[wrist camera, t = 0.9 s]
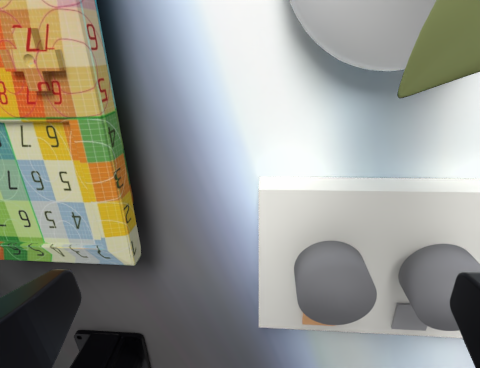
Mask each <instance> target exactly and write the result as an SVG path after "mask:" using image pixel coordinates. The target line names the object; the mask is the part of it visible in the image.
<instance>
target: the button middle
mask: <svg viewBox="0 0 480 368" xmlns="http://www.w3.org/2000/svg"><path fill="white" fill-rule="evenodd" d="M460 272H480V264H479V262H478V261H477V260H476V259H475V258H474V257H473V256H472V255H471V254H470V253H469V252H468V251H467V250H465V249H464V248H462V247H460V246H457V245H453V244H434V245H429V246H426V247H423V248H421V249H419V250H417V251H415V252H414V253H412V254H411V255H410V256H409V257H407V259H406V260H405V261H404V262H403V264H402V265H401V267H400V270H399V274H398V279H399V283H400V285H401V287H402V289H403V291H404V293H405V295H406V297H407V298H408V300H409V302H410V304H411V306H412V308H413V309H414V311H415V313H416V315H417V317H418V318H419V319H420V321H421V322H423V323H424V324H425V325H427V326H429V327H431V328H434V329H437V330H442V331H459V328H458V326H457V323H456V321H455V319H454V317H453V314H452V312H451V309H450V297H451V293H452V290H453V287H454V283H455V280H456V277H457V275H458V274H459V273H460Z"/></svg>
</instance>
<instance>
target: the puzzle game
mask: <svg viewBox="0 0 480 368" xmlns="http://www.w3.org/2000/svg"><path fill="white" fill-rule="evenodd" d="M140 257H141V244H140V240H139V235H138V230H137V224H136V219H135V213H134V208H133V195H132V190H131V185H130V179H129V174H128V169H127V163H126V158H125V152H124V147H123V142H122V136H121V131H120V126H119V120H118V115H117V110H116V104H115V99H114V93H113V88H112V83H111V77H110V72H109V67H108V61H107V56H106V51H105V45H104V40H103V34H102V29H101V24H100V18H99V13H98V8H97V2H96V0H0V260H21V261H44V262H66V263H89V264H111V265H134V266H135V265H136V264H137V262H138V260H139V259H140Z"/></svg>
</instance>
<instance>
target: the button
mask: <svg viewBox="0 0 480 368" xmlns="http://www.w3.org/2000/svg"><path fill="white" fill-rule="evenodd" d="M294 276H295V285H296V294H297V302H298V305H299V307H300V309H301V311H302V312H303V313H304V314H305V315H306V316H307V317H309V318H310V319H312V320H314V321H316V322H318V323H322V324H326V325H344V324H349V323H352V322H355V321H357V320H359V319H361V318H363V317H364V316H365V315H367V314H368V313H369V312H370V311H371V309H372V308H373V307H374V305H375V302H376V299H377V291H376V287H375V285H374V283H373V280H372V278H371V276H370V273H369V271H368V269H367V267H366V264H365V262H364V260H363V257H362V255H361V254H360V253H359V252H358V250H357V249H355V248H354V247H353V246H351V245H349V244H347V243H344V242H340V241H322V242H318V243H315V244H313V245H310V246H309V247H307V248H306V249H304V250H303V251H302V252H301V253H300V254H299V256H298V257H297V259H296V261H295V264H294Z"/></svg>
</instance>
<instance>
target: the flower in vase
mask: <svg viewBox="0 0 480 368" xmlns="http://www.w3.org/2000/svg"><path fill="white" fill-rule="evenodd" d="M290 3H291V6H292V8H293V10H294V12H295V14H296V16H297V18H298V20H299V21H300V23H301V25H302V26H303V28H304V29H305V31H306V32H307V33H308V34H309V36H310V37H311V38H312V39H313V40H314V41H315V43H317V44H318V45H319V46H320V47H321V48H322V49H323V50H325V51H326V52H327V53H329V54H330V55H332V56H333V57H335V58H336V59H338V60H340V61H342V62H345V63H347V64H349V65H352V66H355V67H359V68H362V69H367V70H375V71H398V70H405V71H404V74H403V77H402V80H401V83H400V86H399V90H398V97H399V98H403V97H407V96H410V95H413V94H416V93H419V92H422V91H425V90H428V89H430V88H433V87H436V86H439V85H442V84H445V83H448V82H451V81H453V80H456V79H459V78H462V77H465V76H468V75H471V74H474V73H477V72H480V0H290Z"/></svg>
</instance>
